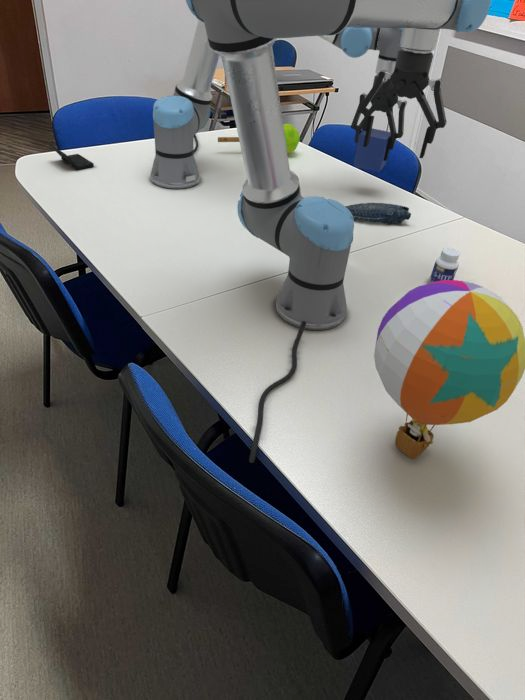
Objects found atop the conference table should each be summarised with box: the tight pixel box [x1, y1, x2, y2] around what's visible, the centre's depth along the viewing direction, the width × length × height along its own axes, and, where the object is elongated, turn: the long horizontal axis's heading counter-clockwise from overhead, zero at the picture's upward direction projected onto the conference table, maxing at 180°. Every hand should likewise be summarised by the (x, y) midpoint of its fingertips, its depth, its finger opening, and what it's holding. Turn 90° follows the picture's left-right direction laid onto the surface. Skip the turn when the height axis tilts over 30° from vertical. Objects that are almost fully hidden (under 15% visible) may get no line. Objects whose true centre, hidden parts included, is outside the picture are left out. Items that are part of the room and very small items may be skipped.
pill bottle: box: [428, 247, 461, 284], centre depth 123 cm, size 5×5×9 cm
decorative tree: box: [217, 123, 301, 155], centre depth 187 cm, size 18×10×30 cm
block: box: [353, 127, 391, 173], centre depth 160 cm, size 8×9×10 cm
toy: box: [373, 279, 525, 460], centre depth 74 cm, size 20×20×30 cm
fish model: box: [344, 202, 412, 225], centre depth 150 cm, size 7×21×5 cm, turn 84°
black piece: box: [49, 143, 95, 171], centre depth 167 cm, size 12×7×10 cm
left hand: (371, 156), depth 162 cm, fingers closed on block, 8 cm apart
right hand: (393, 151), depth 124 cm, fingers open, 13 cm apart
